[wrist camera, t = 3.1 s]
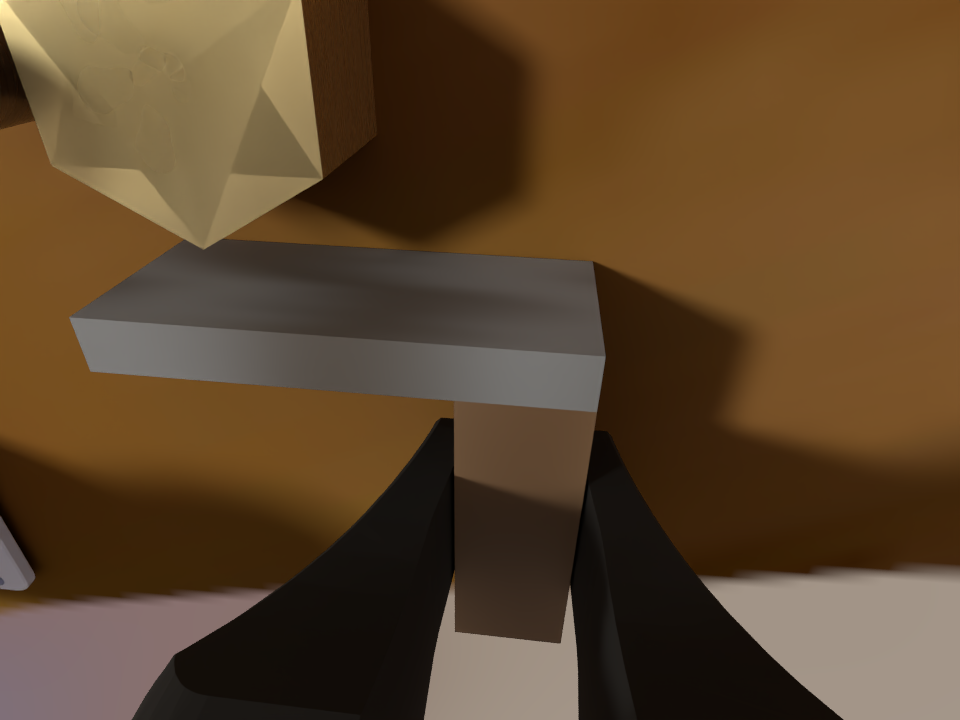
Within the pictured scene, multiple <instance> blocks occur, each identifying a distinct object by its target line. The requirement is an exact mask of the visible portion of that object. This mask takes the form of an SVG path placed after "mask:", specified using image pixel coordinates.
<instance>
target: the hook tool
mask: <svg viewBox="0 0 960 720" xmlns="http://www.w3.org/2000/svg"><path fill="white" fill-rule="evenodd" d="M69 318H70V321H71V323H72V326H73V328H74V331H75V333H76V336H77V338H78V341H79V343H80V346H81V348H82V351H83V353H84V356H85V358H86V361H87V363H88V366H89V368H90V371H92V372H104V373H117V374H129V375H141V376H154V377H166V378H179V379H191V380H203V381H216V382H228V383H240V384H253V385H265V386H278V387H290V388H302V389H315V390H327V391H340V392H352V393H364V394H377V395H389V396H401V397H414V398H426V399H439V400H451V401H454V515H455V632H462V633H471V634H480V635H489V636H498V637H506V638H515V639H524V640H533V641H542V642H551V643H561V637H562V630H563V624H564V617H565V611H566V605H567V599H568V592H569V586H570V580H571V573H572V567H573V561H574V554H575V548H576V542H577V535H578V529H579V523H580V516H581V510H582V504H583V498H584V491H585V485H586V479H587V472H588V466H589V460H590V453H591V447H592V441H593V434H594V428H595V422H596V415H597V409H598V403H599V396H600V390H601V384H602V377H603V371H604V365H605V358H606V355H605V347H604V340H603V333H602V325H601V318H600V311H599V303H598V296H597V289H596V281H595V274H594V267H593V262H592V261H575V260H559V259H542V258H525V257H509V256H492V255H476V254H459V253H442V252H426V251H409V250H393V249H376V248H359V247H343V246H326V245H310V244H293V243H277V242H260V241H243V240H227V239H221V240H219V241H217V242H216V243H214V244H212V245H211V246H209V247H207V248H206V249H201V248H200V247H198V246H196V245H194V244H192V243H191V242H189V241H187V240H183V241H182V242H180V243H179V244H177V245H176V246H174V247H173V248H171V249H170V250H168V251H167V252H165V253H164V254H162V255H161V256H159V257H158V258H156V259H155V260H154V261H152V262H151V263H149V264H148V265H146V266H145V267H143V268H142V269H140V270H139V271H137V272H136V273H134V274H133V275H131V276H130V277H128V278H127V279H125V280H124V281H122V282H121V283H119V284H118V285H116V286H115V287H113V288H112V289H111V290H109V291H108V292H106V293H105V294H103V295H102V296H100V297H99V298H97V299H96V300H94V301H93V302H91V303H90V304H88V305H87V306H85V307H84V308H82V309H81V310H79V311H78V312H76V313H75V314H73V315H72V316H70V317H69Z"/></svg>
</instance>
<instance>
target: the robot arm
mask: <svg viewBox="0 0 960 720" xmlns="http://www.w3.org/2000/svg"><path fill="white" fill-rule="evenodd" d="M454 570H455V515H454V419H450V418H440V419H439V420H438V421H436V423H435V424H434V426H433V428H432V429H431V431H430V433H429V434H428V436H427V437H426V439H425V440H424V442H423V443H422V444H421V446H420V447H419V449H418V450H417V451H416V453H415V454H414V456H413V457H412V458H411V460H410V461H409V462H408V463H407V465H406V466H405V467H404V468H403V470H402V471H401V472H400V474H399V475H398V476H397V477H396V479H395V480H394V481H393V482H392V483H391V485H390V486H389V487H388V488H387V489H386V490H385V492H384V493H383V494H382V495H381V496H380V497H379V498H378V499H377V500H376V501H375V503H374V504H373V505H372V506H371V507H370V508H369V509H368V510H367V511H366V513H365V514H364V515H363V516H362V517H361V518H360V519H359V520H358V521H357V522H356V523H355V524H354V525H353V526H352V527H351V528H350V529H349V530H348V531H347V532H346V533H344V534H343V535H342V536H341V537H340V538H339V539H338V540H337V541H336V542H335V543H334V544H333V545H331V546H330V547H329V548H328V549H327V550H326V551H325V552H323V553H322V554H321V555H320V556H319V557H317V558H316V559H315V560H314V561H313V562H312V563H310V564H309V565H308V566H307V567H306V568H304V569H303V570H302V571H301V572H299V573H298V574H297V575H296V576H294V577H293V578H292V579H290V580H289V581H288V582H287V583H285V584H284V585H282V586H281V587H280V588H278V589H277V590H275V591H274V592H273V593H271V594H270V595H268V596H267V597H265V598H264V599H263V600H261V601H260V602H258V603H257V604H256V605H254V606H253V607H251V608H250V609H249V610H247V611H246V612H244V613H243V614H241V615H240V616H238V617H237V618H235V619H234V620H232V621H230V622H229V623H227V624H226V625H224V626H222V627H221V628H219V629H217V630H216V631H214V632H212V633H211V634H209V635H207V636H206V637H204V638H202V639H201V640H199V641H198V642H196V643H194V644H192V645H191V646H189V647H187V648H186V649H184V650H182V651H180V652H179V653H177V654H175V655H174V656H173V658H172V659H171V660H170V662H169V663H168V665H167V666H166V668H165V669H164V671H163V672H162V673H161V675H160V676H159V677H158V679H157V680H156V681H155V683H154V684H153V686H152V687H151V689H150V690H149V692H148V693H147V695H146V696H145V698H144V700H143V701H142V703H141V705H140V707H139V708H138V710H137V712H136V713H135V715H134V717H133V719H132V720H424V715H425V708H426V702H427V695H428V689H429V683H430V676H431V670H432V664H433V657H434V652H435V647H436V642H437V638H438V632H439V629H440V625H441V621H442V617H443V613H444V609H445V605H446V601H447V597H448V594H449V590H450V586H451V582H452V578H453V574H454ZM34 580H35V574H34V572H33V570H32V568H31V566H30V565H29V563H28V561H27V560H26V558H25V556H24V555H23V553H22V551H21V550H20V548H19V546H18V544H17V543H16V541H15V539H14V538H13V536H12V534H11V533H10V531H9V529H8V527H7V526H6V524H5V522H4V521H3V519H2V517H1V516H0V589H8V590H16V591H17V590H25V589H27V588H28V587H29V586H30V584H31V583H32V582H33V581H34ZM570 586H571V596H572V606H573V616H574V626H575V635H576V645H577V658H578V659H577V660H578V699H579V700H578V704H579V705H578V706H579V720H843V719H842V718H841V717H840V716H838V715H837V714H836V713H835V712H834V711H832V710H831V709H830V708H829V707H827V706H826V705H825V704H824V703H823V702H822V701H820V700H819V699H818V698H817V697H816V696H814V695H813V694H812V693H811V692H809V691H808V690H807V689H806V688H805V687H804V686H803V685H801V684H800V683H799V682H798V681H797V680H796V679H795V678H794V677H793V676H792V675H790V674H789V673H788V672H787V671H786V670H785V669H784V668H783V667H782V666H781V665H780V664H779V663H778V662H776V661H775V660H774V659H773V658H772V657H771V656H770V655H769V654H768V653H767V652H766V651H765V650H764V649H763V648H762V647H761V646H760V645H759V644H758V643H757V642H756V641H755V640H754V639H753V638H752V637H751V635H750V634H748V632H747V631H746V630H745V629H744V628H743V627H742V626H741V625H740V624H739V623H738V622H737V621H736V620H735V619H734V618H733V617H732V616H731V615H730V614H729V613H728V612H727V611H726V609H725V608H724V607H723V606H722V605H721V604H720V602H719V601H718V600H717V599H716V598H715V597H714V596H713V594H712V593H711V592H710V591H709V590H708V589H707V587H706V586H705V585H704V584H703V583H702V581H701V580H700V579H699V578H698V576H697V575H696V574H695V573H694V571H693V570H692V569H691V568H690V566H689V565H688V564H687V562H686V561H685V560H684V558H683V557H682V556H681V554H680V553H679V552H678V550H677V549H676V548H675V546H674V545H673V543H672V542H671V540H670V539H669V538H668V536H667V535H666V533H665V532H664V530H663V529H662V527H661V526H660V524H659V523H658V521H657V520H656V518H655V517H654V515H653V514H652V512H651V510H650V509H649V507H648V505H647V504H646V502H645V500H644V499H643V497H642V495H641V494H640V492H639V490H638V489H637V487H636V485H635V483H634V482H633V480H632V478H631V476H630V474H629V472H628V470H627V469H626V467H625V465H624V463H623V461H622V459H621V457H620V455H619V452H618V450H617V448H616V446H615V444H614V441H613V439H612V437H611V435H610V434H609V433H608V432H607V431H595V430H594V434H593V441H592V447H591V453H590V460H589V466H588V472H587V479H586V485H585V491H584V498H583V504H582V510H581V516H580V523H579V529H578V535H577V542H576V548H575V554H574V561H573V567H572V573H571V580H570Z"/></svg>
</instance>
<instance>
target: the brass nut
mask: <svg viewBox="0 0 960 720" xmlns="http://www.w3.org/2000/svg"><path fill="white" fill-rule="evenodd" d="M0 25H1V27H2V30H3V33H4V36H5V38H6V41H7V44H8V47H9V50H10V52H11V55H12V58H13V61H14V63H15V66H16V69H17V72H18V74H19V77H20V80H21V83H22V85H23V88H24V91H25V94H26V97H27V99H28V102H29V105H30V108H31V110H32V113H33V116H34V119H35V121H36V124H37V127H38V130H39V132H40V135H41V138H42V141H43V144H44V146H45V149H46V152H47V155H48V157H49V160H50V163H51V165H52V166H53V167H55V168H57V169H59V170H61V171H62V172H64V173H66V174H68V175H70V176H71V177H73V178H75V179H77V180H79V181H80V182H82V183H84V184H86V185H88V186H89V187H91V188H93V189H95V190H97V191H98V192H100V193H102V194H104V195H106V196H108V197H109V198H111V199H113V200H115V201H117V202H118V203H120V204H122V205H124V206H126V207H127V208H129V209H131V210H133V211H135V212H136V213H138V214H140V215H142V216H144V217H145V218H147V219H149V220H151V221H153V222H154V223H156V224H158V225H160V226H162V227H163V228H165V229H167V230H169V231H171V232H172V233H174V234H176V235H178V236H180V237H181V238H183V239H185V240H187V241H189V242H191V243H192V244H194V245H196V246H198V247H200V248H201V249H206V248H207V247H209V246H211V245H212V244H214V243H216V242H217V241H219V240H221V239H223V238H224V237H226V236H228V235H229V234H231V233H233V232H234V231H236V230H238V229H239V228H241V227H243V226H245V225H246V224H248V223H250V222H251V221H253V220H255V219H256V218H258V217H260V216H261V215H263V214H265V213H267V212H268V211H270V210H272V209H273V208H275V207H277V206H278V205H280V204H282V203H283V202H285V201H287V200H289V199H290V198H292V197H294V196H295V195H297V194H299V193H300V192H302V191H304V190H305V189H307V188H309V187H310V186H312V185H314V184H316V183H317V182H319V181H321V180H322V179H324V178H325V177H326V176H327V175H329V174H330V173H331V172H332V171H333V170H335V169H336V168H337V167H338V166H340V165H341V164H342V163H343V162H344V161H346V160H347V159H348V158H349V157H350V156H352V155H353V154H354V153H355V152H357V151H358V150H359V149H360V148H361V147H363V146H364V145H365V144H366V143H368V142H369V141H370V140H371V139H372V138H374V137H375V136H376V135H377V128H376V114H375V100H374V86H373V72H372V57H371V43H370V29H369V15H368V0H0Z"/></svg>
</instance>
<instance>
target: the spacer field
mask: <svg viewBox="0 0 960 720" xmlns="http://www.w3.org/2000/svg"><path fill="white" fill-rule="evenodd" d="M31 121H35V119H34V116H33V113H32V110H31V108H30V105H29V102H28V99H27V97H26V94H25V91H24V88H23V85H22V83H21V80H20V77H19V74H18V72H17V69H16V66H15V63H14V61H13V58H12V55H11V52H10V50H9V47H8V44H7V41H6V38H5V36H4V33H3V30H2V27H1V25H0V129H4V128H8V127H12V126H15V125H19V124H23V123H27V122H31Z"/></svg>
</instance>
